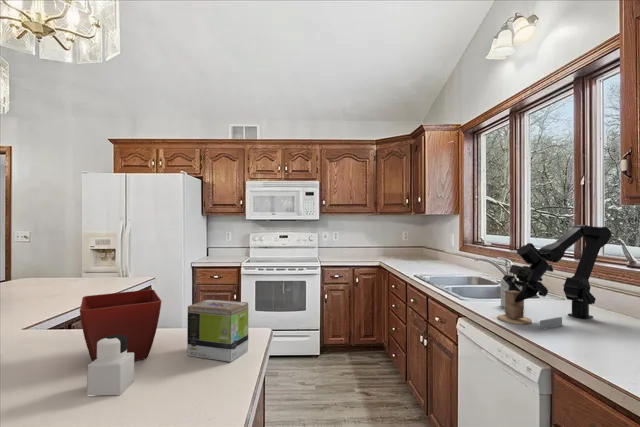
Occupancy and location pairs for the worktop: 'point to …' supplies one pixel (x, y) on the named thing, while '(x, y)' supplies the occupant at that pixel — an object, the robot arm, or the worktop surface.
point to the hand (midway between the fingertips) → (511, 300)
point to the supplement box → (504, 288)
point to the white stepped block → (111, 367)
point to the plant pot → (121, 320)
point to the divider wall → (551, 323)
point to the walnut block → (513, 305)
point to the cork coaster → (514, 320)
